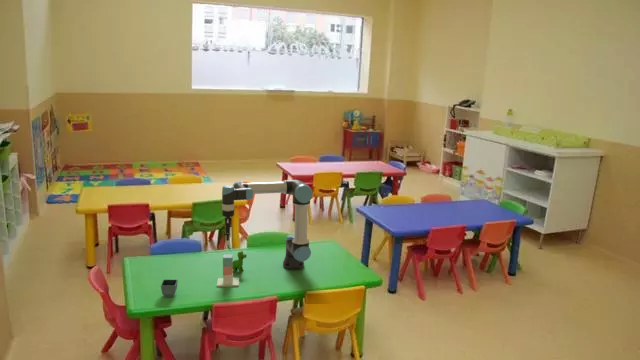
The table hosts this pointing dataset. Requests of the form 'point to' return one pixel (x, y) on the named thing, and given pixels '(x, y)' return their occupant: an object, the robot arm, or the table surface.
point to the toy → (239, 262)
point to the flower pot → (169, 287)
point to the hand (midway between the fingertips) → (228, 240)
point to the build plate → (235, 283)
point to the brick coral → (227, 270)
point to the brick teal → (227, 260)
